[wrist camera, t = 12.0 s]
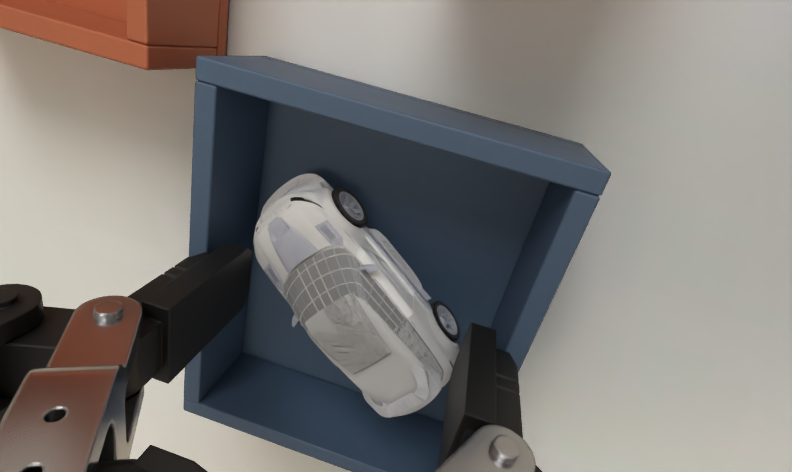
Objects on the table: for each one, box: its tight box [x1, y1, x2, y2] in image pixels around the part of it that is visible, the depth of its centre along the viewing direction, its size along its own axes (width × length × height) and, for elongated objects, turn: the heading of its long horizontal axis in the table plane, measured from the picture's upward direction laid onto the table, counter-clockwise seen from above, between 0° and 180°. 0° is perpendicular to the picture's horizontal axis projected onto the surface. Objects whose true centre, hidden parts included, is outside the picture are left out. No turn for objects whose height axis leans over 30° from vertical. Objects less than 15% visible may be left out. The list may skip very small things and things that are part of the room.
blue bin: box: [184, 56, 611, 472], centre depth 14 cm, size 12×10×4 cm
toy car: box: [253, 174, 460, 418], centre depth 13 cm, size 4×8×3 cm, turn 40°
